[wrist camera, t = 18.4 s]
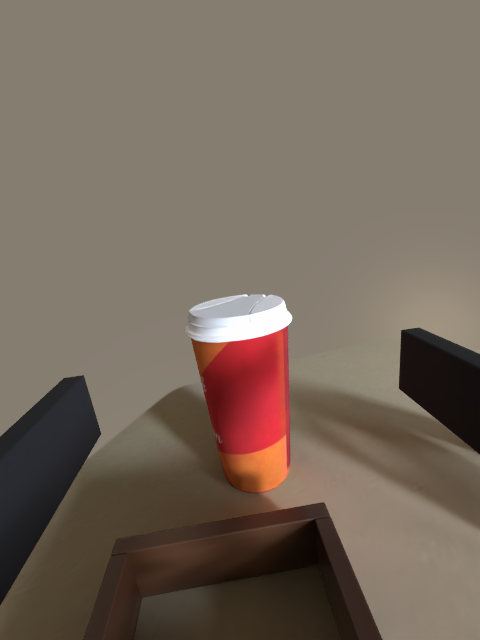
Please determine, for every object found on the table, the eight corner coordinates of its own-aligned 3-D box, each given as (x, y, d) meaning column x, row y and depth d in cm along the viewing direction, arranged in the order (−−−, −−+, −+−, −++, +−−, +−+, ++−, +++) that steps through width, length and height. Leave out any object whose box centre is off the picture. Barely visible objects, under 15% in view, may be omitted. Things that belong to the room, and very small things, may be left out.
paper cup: (243, 426, 29) (224, 292, 25) (316, 449, 25) (307, 292, 21) (191, 482, 23) (156, 317, 19) (276, 526, 19) (252, 325, 15)
